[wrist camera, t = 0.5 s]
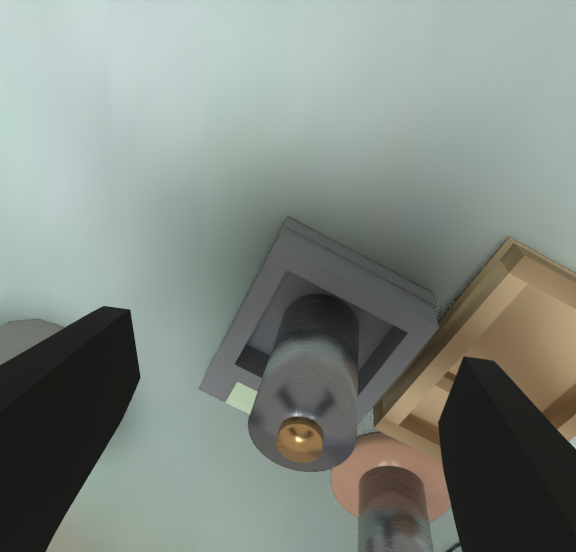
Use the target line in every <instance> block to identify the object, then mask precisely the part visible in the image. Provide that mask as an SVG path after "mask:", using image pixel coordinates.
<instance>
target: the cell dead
mask: <svg viewBox="0 0 576 552" xmlns="http://www.w3.org/2000/svg"><path fill="white" fill-rule="evenodd" d="M358 552H433V545H432V538H431V531H430V524H429V516H428V509H427V502H426V495H425V488H424V484H423V482H422V481H421V479H420V478H419V477H418V476H417V475H416V474H414V473H413V472H411V471H409V470H407V469H404V468H401V467H397V466H380V467H376V468H373V469H371V470H369V471H367V472H366V473H365V474H363V476H362V477H361V479H360V481H359V502H358Z"/></svg>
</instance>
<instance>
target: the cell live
mask: <svg viewBox="0 0 576 552" xmlns="http://www.w3.org/2000/svg"><path fill="white" fill-rule="evenodd" d="M358 361H359V323H358V319H357V317H356V315H355V313H354V312H353V310H352V309H351V308H350V307H349V306H348V305H347V304H346V303H345V302H343V301H342V300H340V299H338V298H336V297H333V296H330V295H325V294H310V295H306V296H303V297H300V298H298V299H297V300H295V301H294V302H292V303H291V304H290V305H289V306H288V307H287V309H286V310H285V312H284V315H283V318H282V321H281V324H280V327H279V329H278V332H277V335H276V338H275V341H274V344H273V347H272V350H271V353H270V356H269V359H268V362H267V365H266V368H265V371H264V374H263V377H262V380H261V383H260V386H259V389H258V392H257V395H256V398H255V401H254V404H253V407H252V410H251V413H250V416H249V420H248V430H249V434H250V437H251V439H252V441H253V443H254V445H255V446H256V447H257V449H258V450H259V451H260V452H261V453H262V454H263V455H265V456H266V457H267V458H268V459H270V460H271V461H273V462H275V463H277V464H279V465H281V466H283V467H286V468H289V469H293V470H297V471H304V472H318V471H324V470H328V469H331V468H334V467H336V466H338V465H340V464H342V463H343V462H344V461H346V460H347V459H348V458H349V456H350V455H351V454H352V452H353V450H354V448H355V445H356V438H357V400H358Z"/></svg>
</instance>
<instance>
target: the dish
mask: <svg viewBox="0 0 576 552" xmlns="http://www.w3.org/2000/svg"><path fill="white" fill-rule="evenodd" d="M380 466H397V467H401V468H404V469H407V470H409V471H411V472H413V473H414V474H416V475H417V476H418V477H419V478H420V479H421V481H422V482H423V484H424V488H425V495H426V502H427V509H428V516H429V522H431V521H433V520H435V519H437V518H438V517H440V516H441V515H443V514H444V513H445V512H446V511H447V510H448V508H449V507H450V506H451V503H450V498H449V494H448V490H447V485H446V481H445V476H444V472H443V465H442V462H440V461H438V460H436V459H434V458H432V457H430V456H428V455H426V454H424V453H422V452H420V451H418V450H416V449H414V448H412V447H410V446H408V445H406V444H404V443H402V442H400V441H398V440H396V439H394V438H392V437H390V436H388V435H386V434H384V433H382V432H379V433H372V434H367V435H363V436H360V437H358V438H356V445H355V448H354V450H353V452H352V454H351V455H350V456H349V458H348V459H347V460H346V461H344V462H343V463H342V464H340V465H338V466H336V467H334V468H332V473H331V488H332V491H333V494H334V496H335V498H336V499H337V501H338V502H339V503H340V504H341V505H342V507H343V508H345V509H346V510H347V511H348V512H350V513H351V514H353V515H354V516H356V517H358V502H359V481H360V479H361V477H362V476H363V474H365V473H366V472H367V471H369V470H371V469H373V468H376V467H380Z"/></svg>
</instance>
